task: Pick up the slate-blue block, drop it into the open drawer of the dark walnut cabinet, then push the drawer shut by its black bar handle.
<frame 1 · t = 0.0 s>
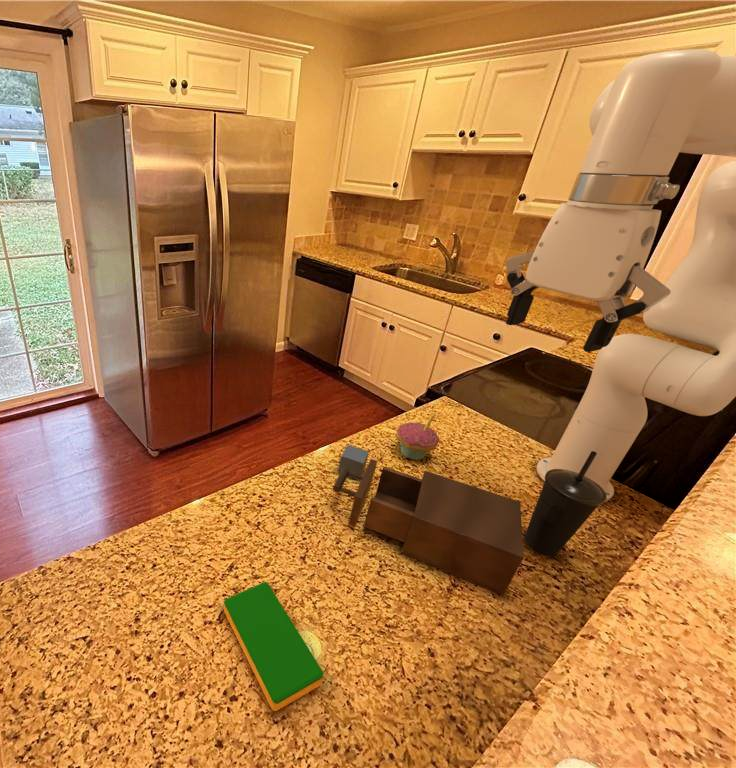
hand: (550, 335, 54), 37 cm above the countertop, tool pointing down, fingers open, 9 cm apart
dish sponge: (268, 645, 55), on the countertop
block: (351, 470, 86), on the countertop
drinking cup: (540, 545, 70), on the countertop
drawer: (385, 499, 73), point 4 cm above the countertop, slide at 8.0 cm
cabinet: (452, 545, 70), on the countertop
cupcake: (411, 453, 92), on the countertop
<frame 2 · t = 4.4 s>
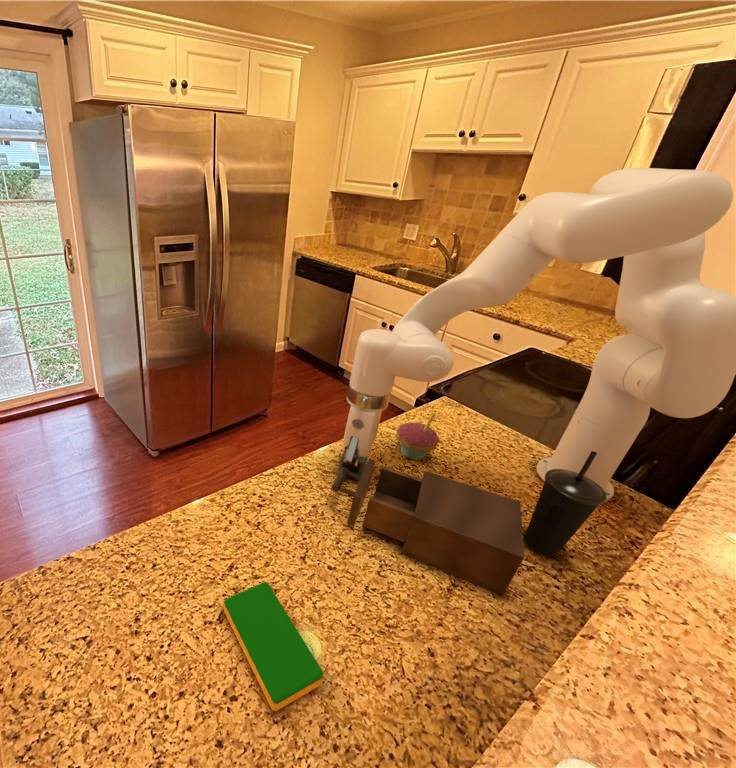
hand: (351, 469, 86), 0 cm above the countertop, tool pointing down, fingers closed on block, 4 cm apart
block: (351, 470, 86), on the countertop, touching gripper
everything else where it was.
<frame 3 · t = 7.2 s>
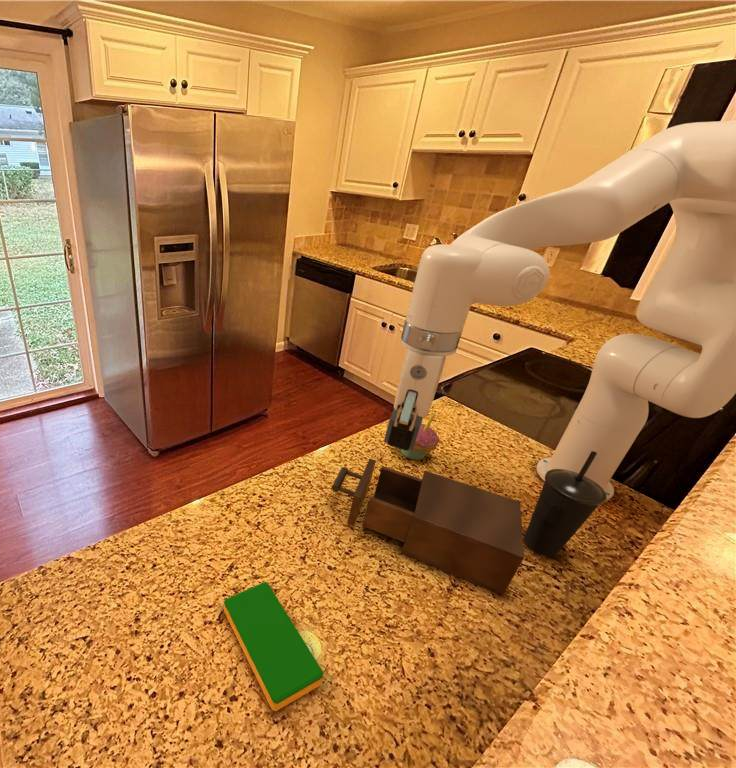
hand: (401, 437, 68), 17 cm above the countertop, tool pointing down, fingers closed on block, 4 cm apart
block: (400, 439, 68), point 17 cm above the countertop, touching gripper
everything else where it was.
when the fingers open (7 cm above the countertop, at t = 9.9 s): block drops 5 cm, resting on drawer.
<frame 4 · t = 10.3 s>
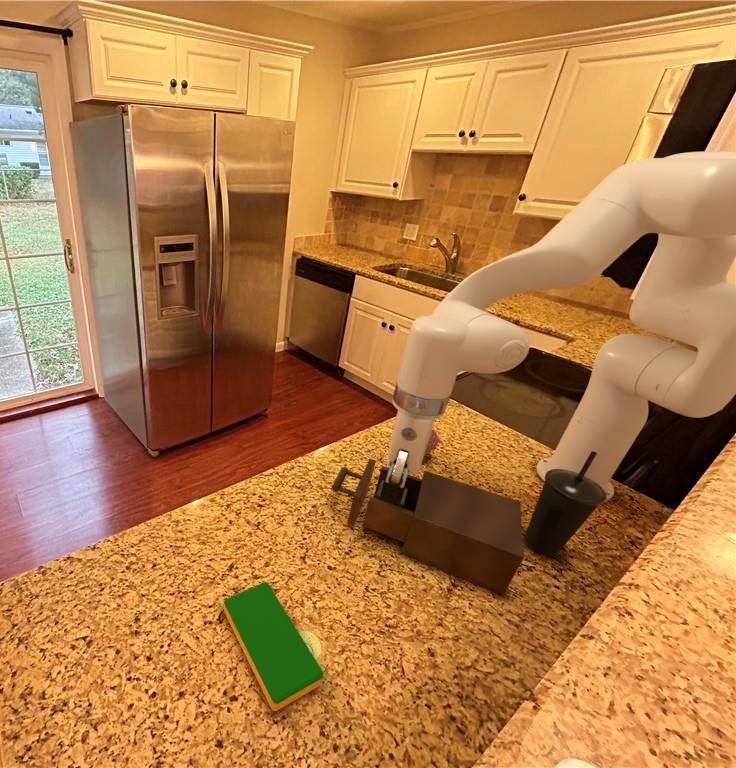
hand: (395, 483, 71), 8 cm above the countertop, tool pointing down, fingers open, 8 cm apart
block: (386, 510, 74), point 2 cm above the countertop, touching drawer
drawer: (384, 499, 73), point 4 cm above the countertop, slide at 8.2 cm, touching block
everything else where it was.
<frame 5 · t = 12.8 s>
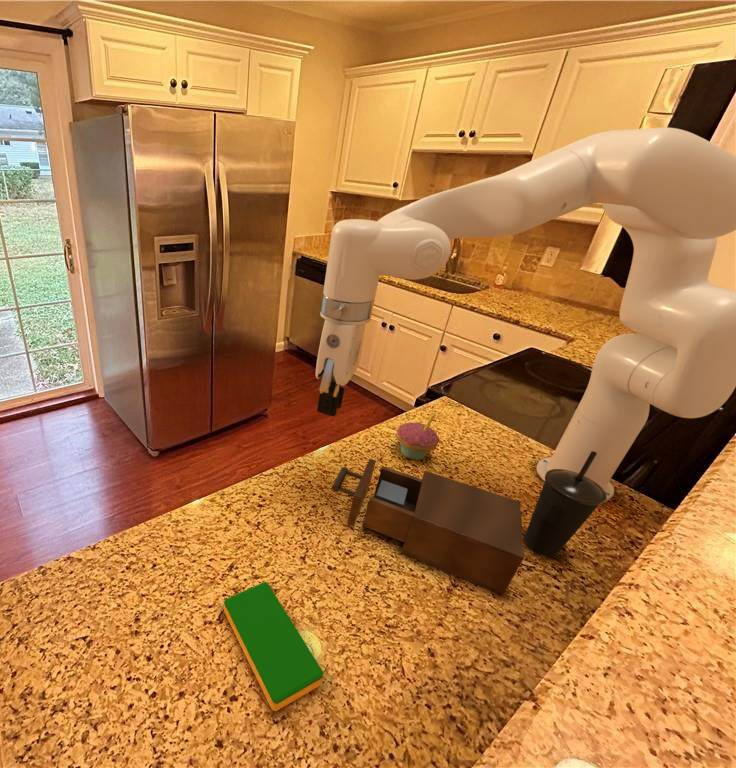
hand: (329, 409, 71), 19 cm above the countertop, tool pointing down, fingers closed
nothing on the countertop moved.
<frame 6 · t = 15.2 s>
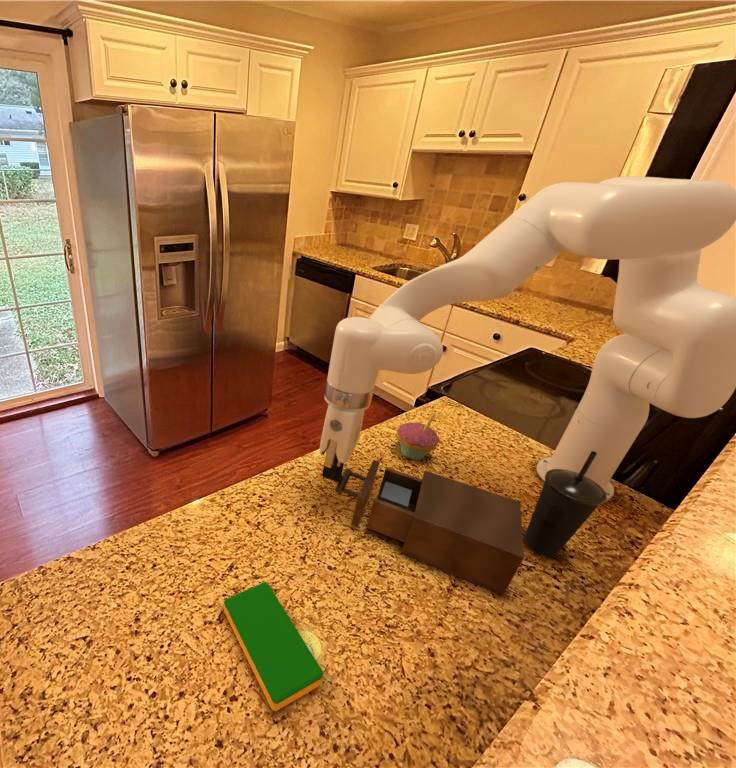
hand: (331, 477, 77), 5 cm above the countertop, tool pointing down, fingers closed
drawer: (388, 501, 73), point 4 cm above the countertop, slide at 7.5 cm, touching block, gripper
everything else where it was.
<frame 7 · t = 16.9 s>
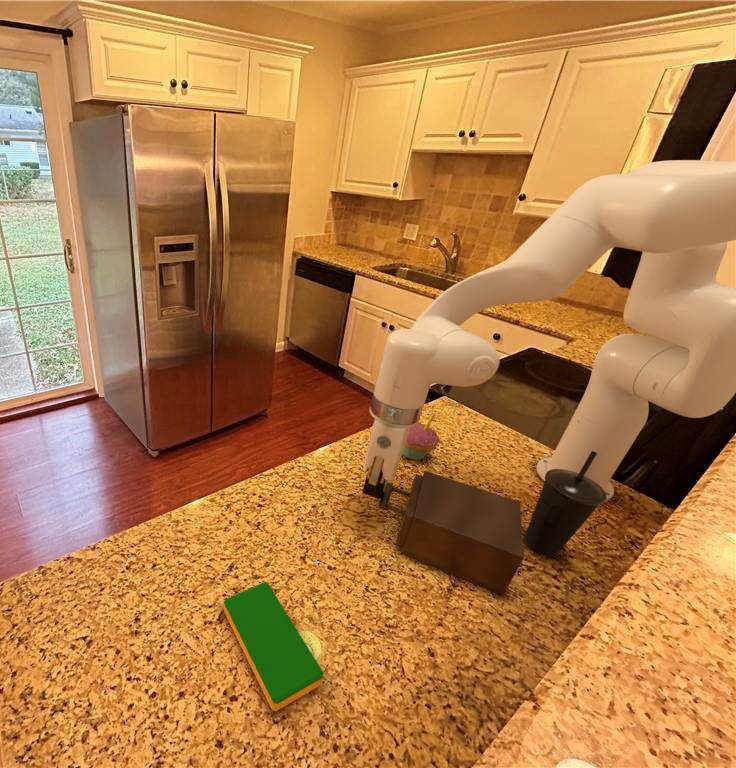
hand: (372, 493, 74), 5 cm above the countertop, tool pointing down, fingers closed
block: (436, 529, 70), point 2 cm above the countertop, touching drawer
drawer: (434, 518, 69), point 4 cm above the countertop, slide at 0.0 cm, touching block, cabinet, gripper
everything else where it was.
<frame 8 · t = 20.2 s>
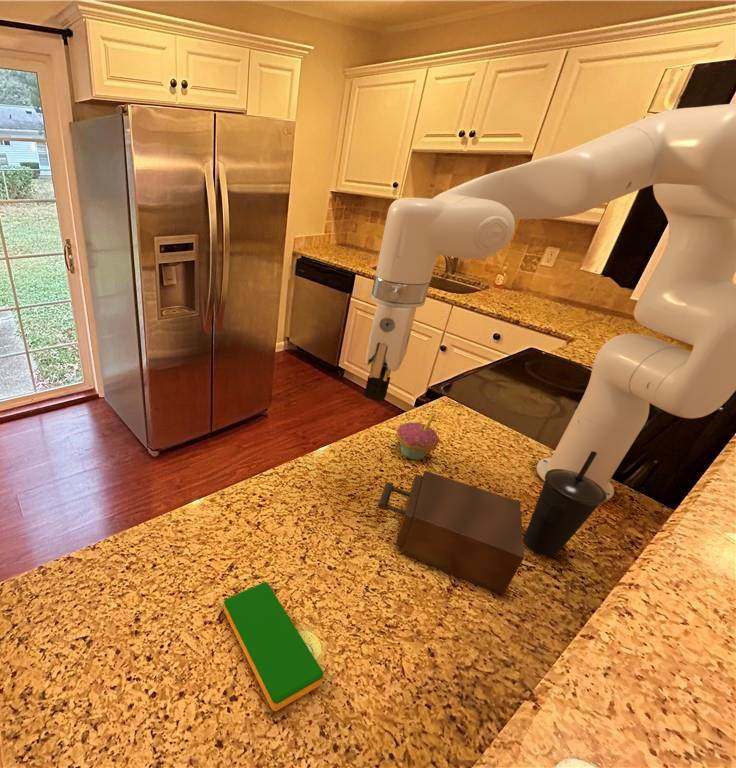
hand: (374, 397, 69), 22 cm above the countertop, tool pointing down, fingers closed
drawer: (434, 518, 69), point 4 cm above the countertop, slide at 0.0 cm, touching block
everything else where it was.
at the end: block inside the target area in the cabinet (3.1 cm from its centre), point 2.0 cm above the cabinet's base; drawer slide at 0.0 cm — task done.
